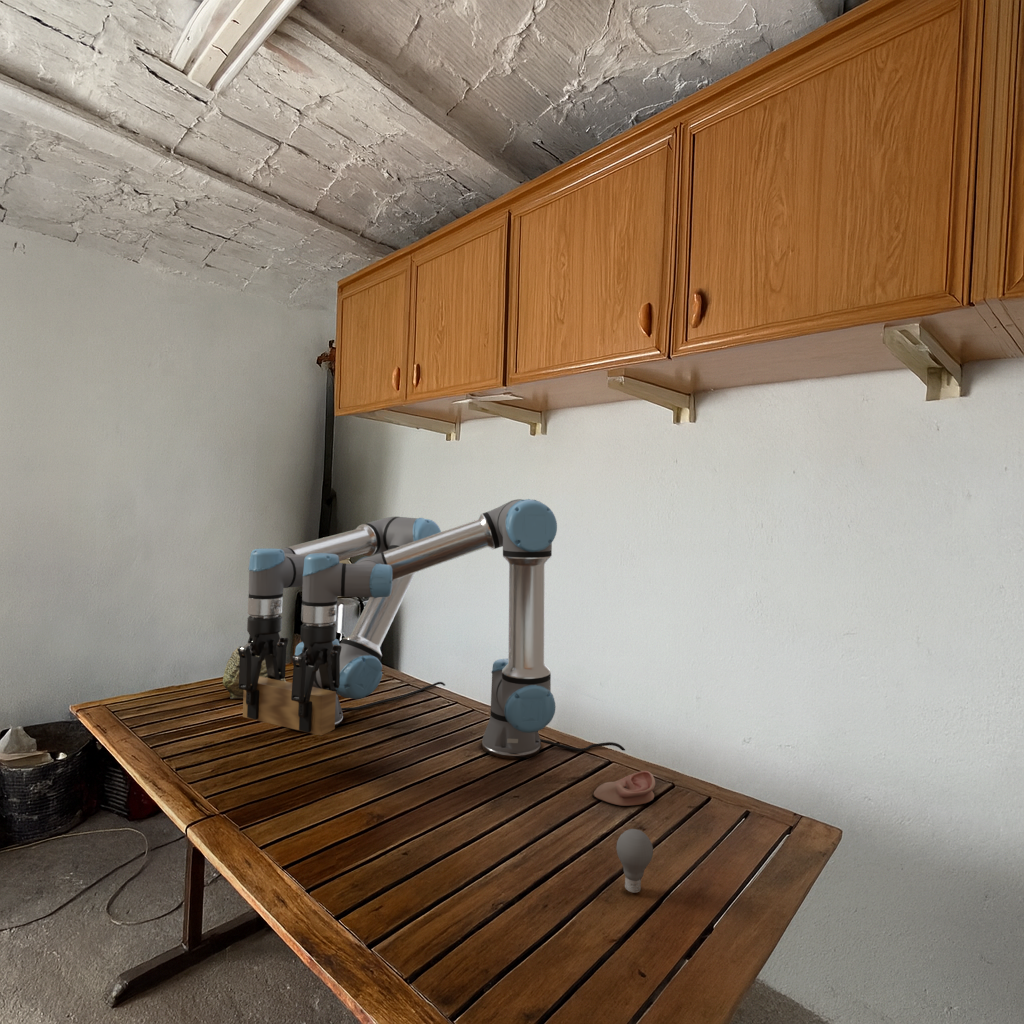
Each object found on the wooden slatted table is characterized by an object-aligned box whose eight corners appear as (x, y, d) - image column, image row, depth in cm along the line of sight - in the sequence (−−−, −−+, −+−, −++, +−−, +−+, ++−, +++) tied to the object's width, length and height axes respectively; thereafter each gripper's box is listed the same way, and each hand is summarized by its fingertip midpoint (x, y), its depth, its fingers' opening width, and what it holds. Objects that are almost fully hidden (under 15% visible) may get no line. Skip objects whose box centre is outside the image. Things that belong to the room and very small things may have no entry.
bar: (242, 717, 147) (243, 680, 147) (257, 711, 151) (258, 676, 151) (321, 735, 138) (322, 697, 138) (334, 729, 142) (336, 691, 142)
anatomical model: (593, 783, 136) (596, 762, 147) (592, 802, 136) (596, 779, 148) (656, 792, 134) (655, 770, 145) (655, 810, 134) (654, 787, 145)
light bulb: (610, 879, 108) (613, 822, 108) (644, 879, 109) (647, 822, 109) (619, 902, 102) (622, 840, 102) (655, 901, 103) (658, 840, 103)
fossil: (218, 695, 195) (220, 647, 195) (278, 685, 208) (279, 640, 207) (228, 703, 189) (230, 653, 188) (289, 692, 201) (290, 645, 201)
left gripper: (247, 623, 138) (243, 729, 138) (304, 611, 154) (300, 706, 154) (222, 619, 141) (218, 723, 141) (280, 608, 157) (277, 701, 157)
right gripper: (302, 632, 131) (298, 743, 131) (358, 618, 148) (354, 716, 149) (274, 628, 134) (270, 736, 134) (333, 614, 151) (329, 711, 152)
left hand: (261, 714), depth 148 cm, fingers closed on bar, 5 cm apart
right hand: (315, 726), depth 141 cm, fingers open, 6 cm apart
